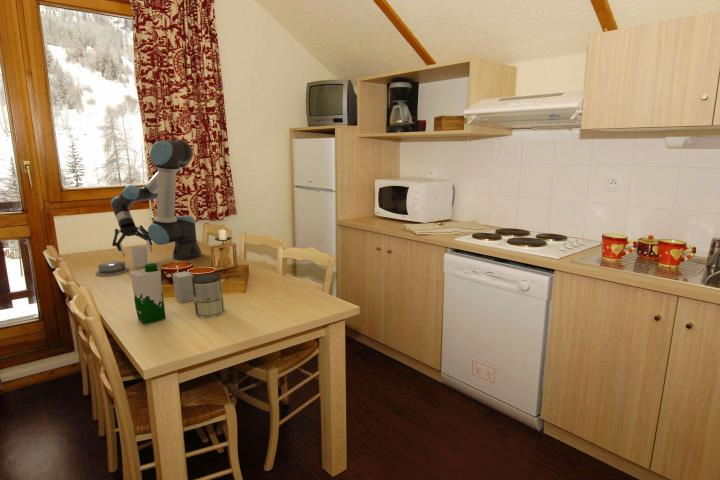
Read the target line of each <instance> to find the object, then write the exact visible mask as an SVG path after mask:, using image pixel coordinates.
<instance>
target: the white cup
mask: <svg viewBox="0 0 720 480" xmlns="http://www.w3.org/2000/svg"><path fill="white" fill-rule="evenodd" d="M147 248H148V246H147V245H144V244H142V245H135V246H130V248H129V251H130V256H131V259H132V260H131V261H132V266H133V267H135V268H141V267H142V268H143V267H145V265H146V264H149V263H148V249H147Z"/></svg>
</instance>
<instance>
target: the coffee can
mask: <svg viewBox="0 0 720 480" xmlns="http://www.w3.org/2000/svg"><path fill="white" fill-rule="evenodd" d="M192 284H193V292H194V300H193V301H194V306H195V307H194V309H195V316H196V317H197V318H200V319H209V318H215V317H216V318H217V317H218V316H221V315H223V314H224V313H226V312H225V310H226V309H225V306H224V305H225V303H224V295H223V294H224V293H223V285H222V274H221V273H219V272H206V273H205V272H204V273H199V274H197V275H193V277H192Z"/></svg>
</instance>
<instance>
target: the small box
mask: <svg viewBox="0 0 720 480" xmlns="http://www.w3.org/2000/svg"><path fill="white" fill-rule="evenodd" d="M171 277H172V281H173V282H172V283H173V289H174V297H175V299H176V300H178V301H179V302H181V303H187V302H190V301H194V292H193V284H192V277H194V274H193V273H191V272H188V271H181V272H176V273H172V276H171Z"/></svg>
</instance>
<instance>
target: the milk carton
mask: <svg viewBox="0 0 720 480" xmlns="http://www.w3.org/2000/svg"><path fill="white" fill-rule="evenodd" d="M130 279H131V285H132V286H131V287H132V292H133V298H134V306H135V311H136V314H137V319H138V321H140V322H141V323H143V324H144V325H149V324H152V323H153V324H154V323H156V322H159V321H163V320H166V309H165V308H166V307H165V299H164V294H163V293H164V292H163V286H162V272H161V270H159V269H158V263H154V262H153V263H152V262H151V263H148V264H146V265H145V266H144V269H138V270H136V271H131V272H130Z"/></svg>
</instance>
